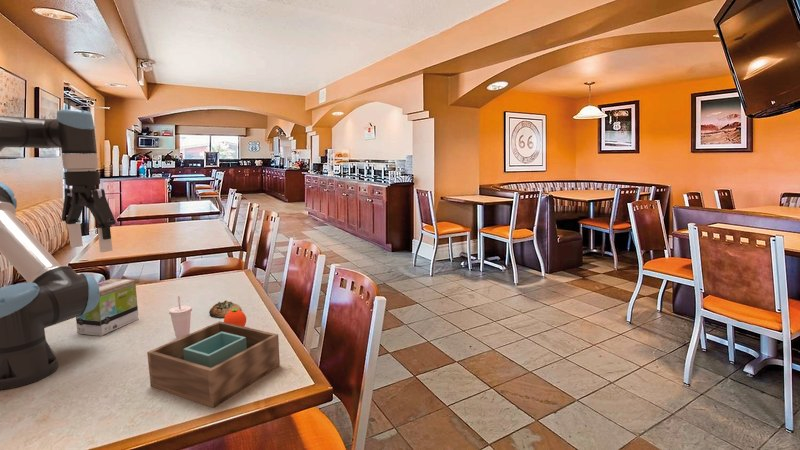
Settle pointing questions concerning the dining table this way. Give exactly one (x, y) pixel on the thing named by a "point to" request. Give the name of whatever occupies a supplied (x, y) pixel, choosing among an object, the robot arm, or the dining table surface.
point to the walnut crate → (220, 379)
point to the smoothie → (181, 319)
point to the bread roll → (223, 309)
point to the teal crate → (215, 349)
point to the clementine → (235, 318)
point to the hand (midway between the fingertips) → (91, 249)
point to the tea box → (110, 308)
